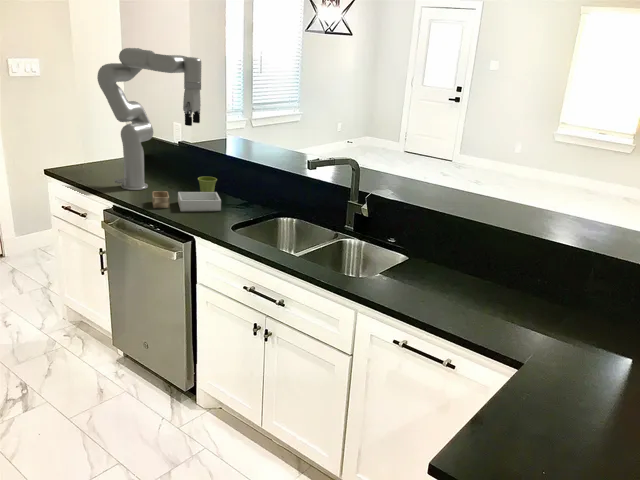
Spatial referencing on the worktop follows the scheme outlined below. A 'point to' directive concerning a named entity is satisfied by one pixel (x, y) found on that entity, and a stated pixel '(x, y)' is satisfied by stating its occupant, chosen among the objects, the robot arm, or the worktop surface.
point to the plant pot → (207, 184)
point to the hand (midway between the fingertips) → (192, 124)
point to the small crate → (160, 199)
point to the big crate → (199, 201)
